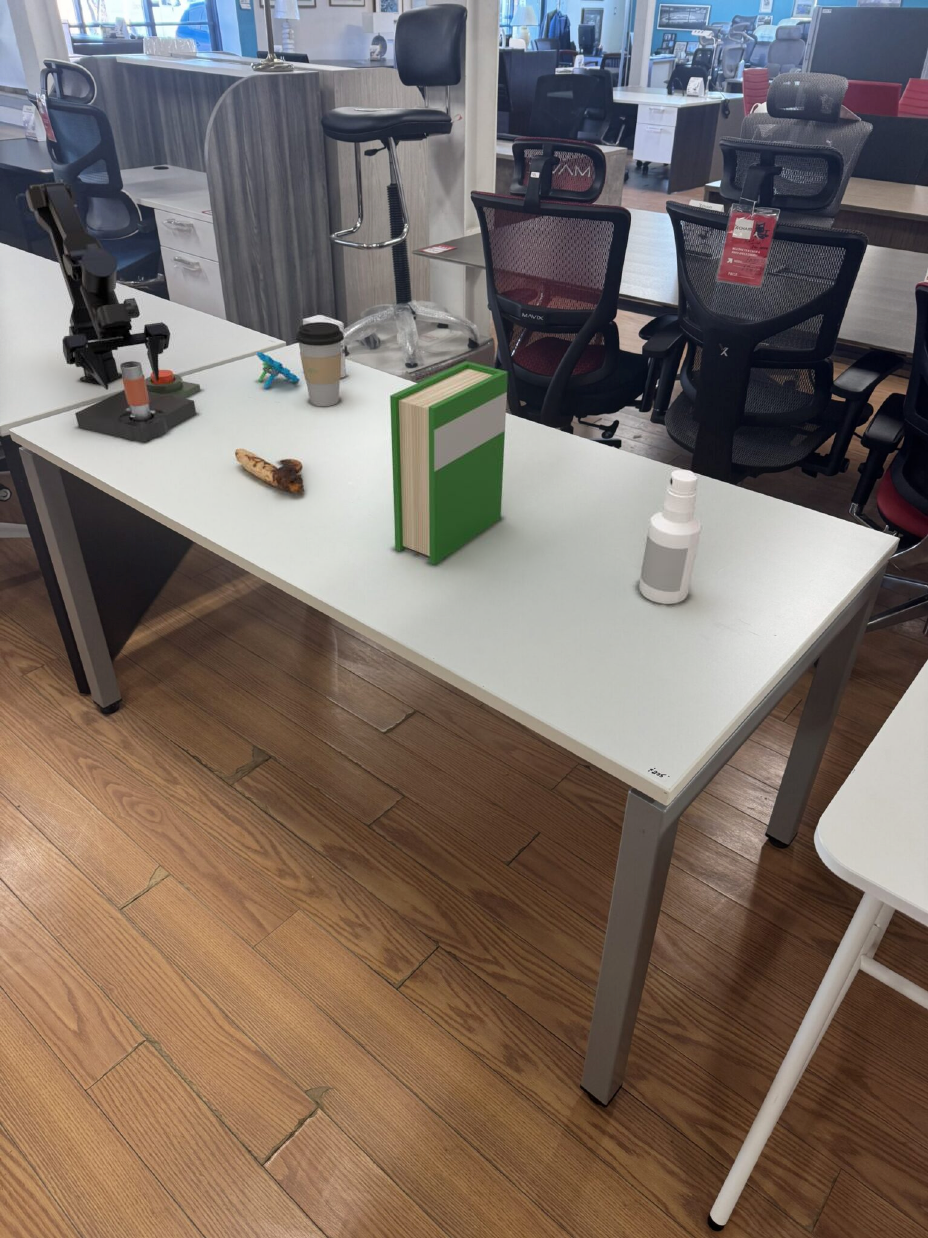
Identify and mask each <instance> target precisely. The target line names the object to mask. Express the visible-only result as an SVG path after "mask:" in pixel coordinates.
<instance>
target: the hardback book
mask: <svg viewBox="0 0 928 1238" xmlns="http://www.w3.org/2000/svg"><path fill="white" fill-rule="evenodd" d="M508 377H509V371H506V370H502V369H499V368H495V367H490V366H486V365H483V364H480V363H475V362H471V361H467V360H465V361H463V362H461V363H458V364H456V365H455V366H452V367H450V368H448V369H445V370H444V371H441V372H439V373H437V374H434V375H432V376H429V377H428V378H425V379H424V380H421V381H419V382H417V383H415V384H412V385H410V386H408V387H405V388H404V389H402V390H399V391H397V392H395V393H392V394H390V395H389V404H390V407H389V408H390V432H391V433H390V435H391V463H392V464H391V465H392V466H391V467H392V489H393V490H392V492H393V520H394V521H393V523H394V524H393V525H394V548H395V549H394V550H396V551H398V552H401V551H403V550H405V549H410V550H413V551H415V552H418V553H420V554H421V555H425V556H428V557H429V564H430V565H434V566H436V565H437V564H438V563H440V562H441V561H443V560H444V559H446V558H447V557H448V556H450V555H451V554H453V553H454V552H455V551H457V550H458V549H460V548H461V547H463V546H464V545H466V544H467V543H468V542H470V541H471V540H473V539H474V538H476V537H477V536H478V535H479V534H481V533H482V532H484V531H485V530H486V529H488V528H490V527H491V526H493V525H494V524H495V523H497V522H498V521H499V520H501V519H502V502H503V501H502V498H503V480H504V479H503V477H504V462H505V461H504V459H505V458H504V457H505V439H506V437H505V436H506V419H507V418H506V417H507V397H508V396H507V395H508V379H509V378H508Z"/></svg>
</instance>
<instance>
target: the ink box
mask: <svg viewBox="0 0 928 1238" xmlns="http://www.w3.org/2000/svg"><path fill="white" fill-rule="evenodd" d="M314 322H327V323H333V324H336V325H338V326H339V329H340V331H342V333H343V336H344V337H345V323H343V321H340V320H338V319H335V318H332V317H329V316H326V315H323V314H317V315H314V316H309V317H306V318H302V325H304V324H308V323H314ZM345 344H346V343H345V338H344V339H343V340H342V341H341V376H340V379H343V378H345V377H346V376H347V374H346V373H347V371H346V369H347V368H346V348H345V347H346V345H345Z"/></svg>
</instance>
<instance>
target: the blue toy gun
mask: <svg viewBox="0 0 928 1238" xmlns="http://www.w3.org/2000/svg"><path fill="white" fill-rule="evenodd" d="M256 356H257V358H258V359H259V360H260V361H262V364H261V365H262V366H263V367H262V373H261V375H260V376H259V378H258V381H259V382H262V381H263V380H264V378H265V376H266V375H267V374H268V375H269V377H268V379H267V380H266V381H265V382H264V384H263V386H264V387H265V388H266V389H269V388H270V386H271V384H272V383H273V382H274V379H276V378H278V376H279V375H282V376H284V378H286V379H287V380H291V382H293V383H296V384H298V383H299V382H300V378H299V377H298V376H297V375H296V374H295V373H291V369H288V368H287V367H284V366H283V363H281V362H279V361H278V360H274V359H273V357H271V356H270V355H268V354H265V353H264V352H262V351H257V353H256Z"/></svg>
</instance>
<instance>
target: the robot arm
mask: <svg viewBox="0 0 928 1238" xmlns="http://www.w3.org/2000/svg"><path fill="white" fill-rule="evenodd" d="M25 197H26V202H27V205H28V208H29V210H30V211H31V212H33V214H34V217H35V219H36V222H37V224H38V225H40V226H41V227H42V228H43V229H44V230H45V231H46V232H47V233H48V234H49V236H50V239H51V242H52V245H53V249H54V251H55V254H56V258H57V261H58V264H59V268H60V270H61V273H62V276H63V279H64V282H65V286H66V289H67V292H68V294H69V299H70V300H71V305H72V309H71V313H70V317H69V326H68V335H64V336H63V338H62V353H63V356H64V359H65V361H66V364H68V365H75V367H76V368H82V370H83V374H84V376H81V377H80V378H79V380H80V381H81V382H86V383H91V384H96V385H100V386H102V388H103V389H104V390H106V391H107V390H109V385H108V383H110V382H113V381H115V380H117V379H120V378H122V372H119V371H118V367H117V362H116V358H115V357H114V354H113V351H119V348H124V347H131V346H137V345H145V348H146V350H147V351H146V353H147V354H146V355H147V359H148V361H149V365H150V369H151V371H152V372H153V375H154V377H155V379H156V381H158V380H159V370H160V369H159V355H161V354H163V353H164V350H167V349H169V346H170V340H171V332H170V329H169V327H168V325H167V324H166V323H164V322H162V321H161V322H154V323H148V324H147V323H146V324H144V327H143V332H137V333H131V331H133V330H132V329H133V325H132V319H137V318H139V317H140V315H141V313H140V312H141V311H140V308H139V305H138V303H137V300H136V298H135V297H131V298H126V299H124V301H123V302H121V303H120V302H119V300H118V297H117V294H116V291H115V290H116V287H117V273H118V271H117V270H118V269H117V268H118V263H117V260H116V257H115V256H113V254H112V253H110V252H109V251H107V250H106V249H103V247H102V245H101V243H100V241H99V239H98V238H97V237H94V236H93V235H91V234H89V233H88V231H87V230H86V228H85V227H86V226H85V225H84V223H83V221H82V219H81V217H80V214H79V212H78V210H77V208H76V207H77V206H78V203H77V199H76V195H75V192H74V188H73V186H72V185H69V184H68V183H65V182H61V181H60V182H46V183H42V184H41V183H40V184H31V185H30V186H29V188H28V189H26V191H25ZM152 372H151V373H152Z"/></svg>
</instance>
